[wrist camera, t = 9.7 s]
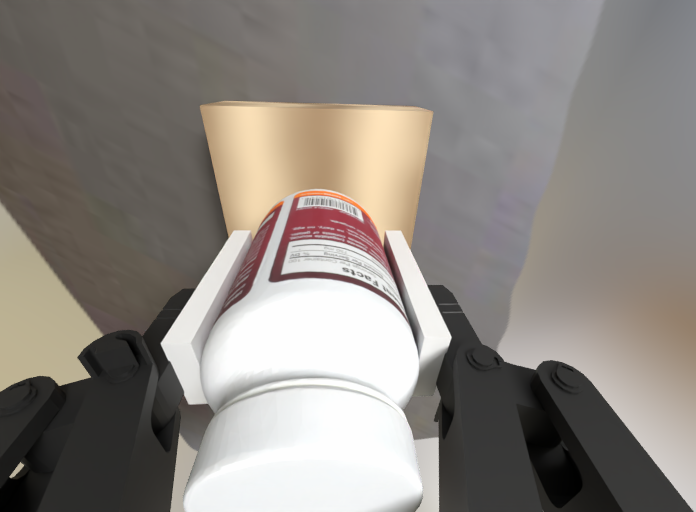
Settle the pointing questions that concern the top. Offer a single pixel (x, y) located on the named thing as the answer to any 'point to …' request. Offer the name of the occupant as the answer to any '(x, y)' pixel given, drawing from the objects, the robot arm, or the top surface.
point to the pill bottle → (309, 372)
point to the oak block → (318, 157)
